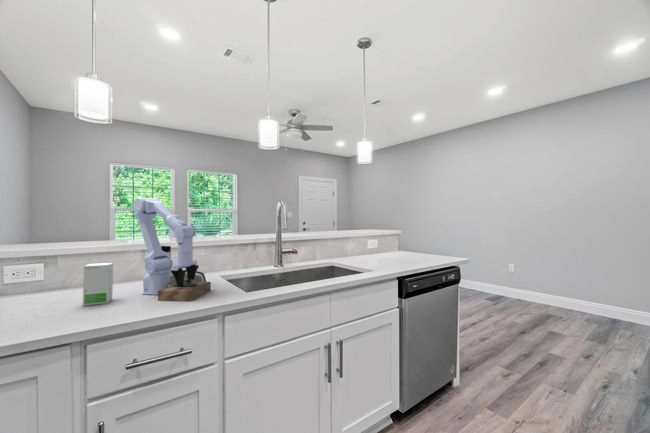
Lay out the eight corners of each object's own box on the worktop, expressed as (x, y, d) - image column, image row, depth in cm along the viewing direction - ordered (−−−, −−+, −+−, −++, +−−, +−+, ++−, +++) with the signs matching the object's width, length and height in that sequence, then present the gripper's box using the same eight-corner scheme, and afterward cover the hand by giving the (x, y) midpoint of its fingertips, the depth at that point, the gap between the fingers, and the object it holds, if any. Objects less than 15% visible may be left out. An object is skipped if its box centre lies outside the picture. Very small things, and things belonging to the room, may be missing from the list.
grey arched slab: (208, 284, 136) (206, 267, 132) (205, 290, 131) (202, 272, 128) (174, 285, 134) (170, 268, 131) (170, 291, 130) (166, 273, 126)
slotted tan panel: (157, 300, 110) (157, 290, 110) (182, 289, 126) (182, 281, 126) (190, 301, 109) (190, 291, 109) (210, 290, 125) (210, 281, 125)
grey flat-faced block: (176, 295, 117) (175, 279, 117) (179, 294, 119) (178, 278, 119) (193, 296, 116) (193, 280, 116) (196, 294, 118) (195, 278, 118)
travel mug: (156, 286, 133) (156, 246, 133) (157, 283, 139) (157, 245, 139) (171, 285, 136) (170, 245, 136) (171, 282, 142) (171, 244, 142)
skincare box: (82, 306, 104) (81, 266, 104) (88, 301, 110) (88, 263, 110) (109, 303, 108) (108, 264, 108) (113, 298, 114) (113, 261, 114)
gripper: (183, 255, 110) (184, 288, 110) (203, 250, 125) (203, 280, 125) (167, 255, 111) (168, 288, 111) (188, 250, 125) (189, 279, 125)
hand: (185, 283), depth 118 cm, fingers open, 7 cm apart
